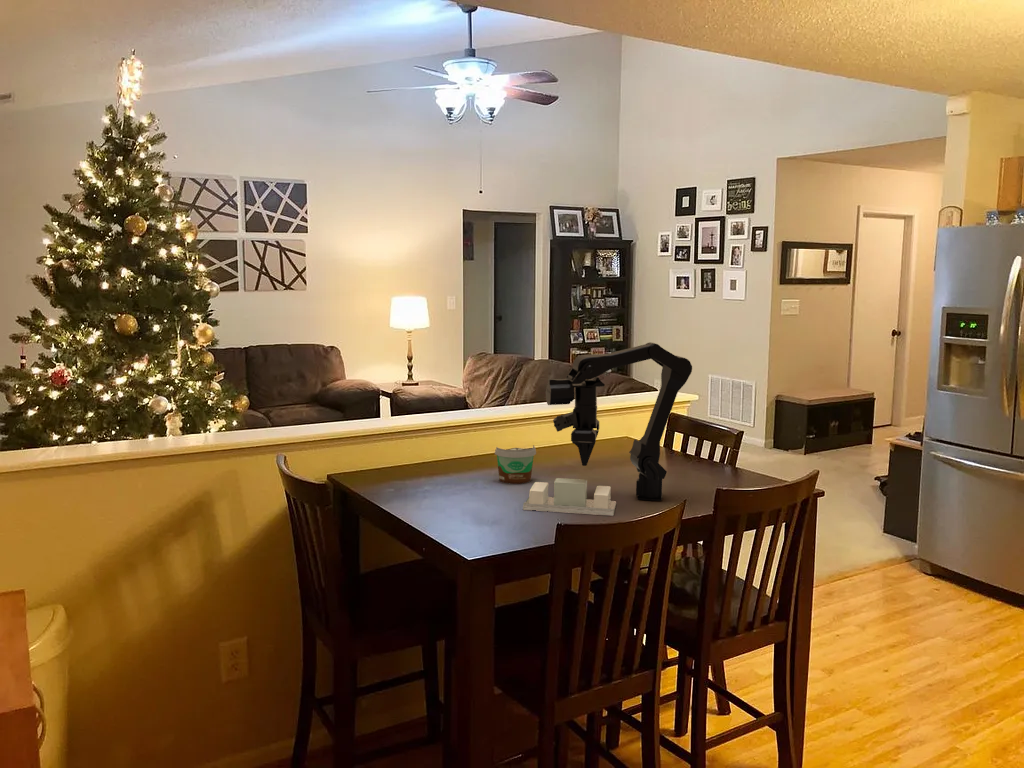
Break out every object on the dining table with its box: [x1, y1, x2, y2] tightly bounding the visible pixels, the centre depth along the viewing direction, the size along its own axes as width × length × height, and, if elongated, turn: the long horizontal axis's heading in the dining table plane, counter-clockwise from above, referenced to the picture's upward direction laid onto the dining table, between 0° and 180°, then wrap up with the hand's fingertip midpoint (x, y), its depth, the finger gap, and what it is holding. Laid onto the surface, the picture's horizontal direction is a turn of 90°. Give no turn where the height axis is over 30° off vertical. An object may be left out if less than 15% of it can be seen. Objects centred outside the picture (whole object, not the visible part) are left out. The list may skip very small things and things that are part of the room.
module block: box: [553, 477, 588, 506], centre depth 215 cm, size 4×8×6 cm, turn 79°
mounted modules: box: [528, 481, 612, 509], centre depth 215 cm, size 20×9×4 cm, turn 79°
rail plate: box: [522, 496, 617, 517], centre depth 215 cm, size 23×10×2 cm, turn 79°
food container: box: [494, 445, 537, 485], centre depth 240 cm, size 12×6×10 cm, turn 105°
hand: (585, 461), depth 221 cm, fingers open, 9 cm apart
